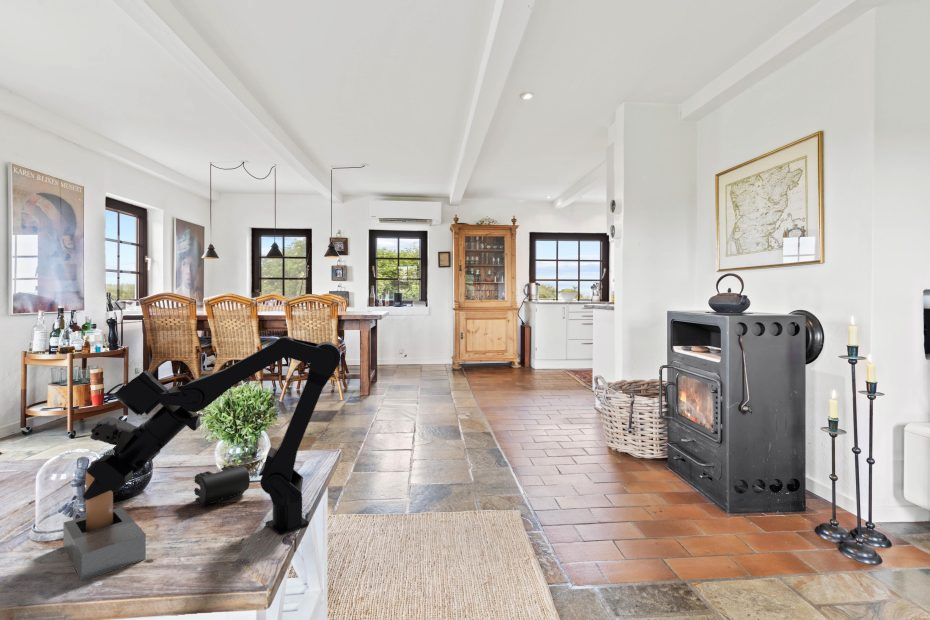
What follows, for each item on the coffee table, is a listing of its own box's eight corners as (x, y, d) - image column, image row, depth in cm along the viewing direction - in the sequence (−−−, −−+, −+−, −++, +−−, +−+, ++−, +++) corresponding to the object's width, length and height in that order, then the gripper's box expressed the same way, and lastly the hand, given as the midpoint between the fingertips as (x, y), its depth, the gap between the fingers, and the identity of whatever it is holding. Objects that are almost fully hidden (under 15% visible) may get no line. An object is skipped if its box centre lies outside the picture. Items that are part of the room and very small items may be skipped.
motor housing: (145, 559, 84) (145, 534, 84) (81, 581, 77) (81, 554, 77) (121, 529, 94) (121, 507, 94) (63, 546, 87) (63, 522, 87)
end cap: (205, 510, 103) (206, 480, 103) (192, 501, 108) (192, 472, 107) (250, 496, 111) (250, 468, 111) (235, 488, 115) (236, 461, 115)
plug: (117, 524, 89) (117, 459, 89) (93, 534, 85) (93, 466, 85) (105, 520, 90) (104, 456, 90) (81, 529, 87) (81, 463, 86)
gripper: (143, 393, 97) (80, 449, 95) (100, 415, 79) (21, 485, 77) (185, 428, 100) (125, 484, 97) (153, 457, 82) (79, 527, 79)
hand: (91, 493), depth 87 cm, fingers closed on plug, 4 cm apart
